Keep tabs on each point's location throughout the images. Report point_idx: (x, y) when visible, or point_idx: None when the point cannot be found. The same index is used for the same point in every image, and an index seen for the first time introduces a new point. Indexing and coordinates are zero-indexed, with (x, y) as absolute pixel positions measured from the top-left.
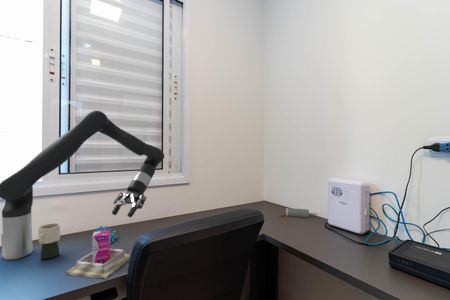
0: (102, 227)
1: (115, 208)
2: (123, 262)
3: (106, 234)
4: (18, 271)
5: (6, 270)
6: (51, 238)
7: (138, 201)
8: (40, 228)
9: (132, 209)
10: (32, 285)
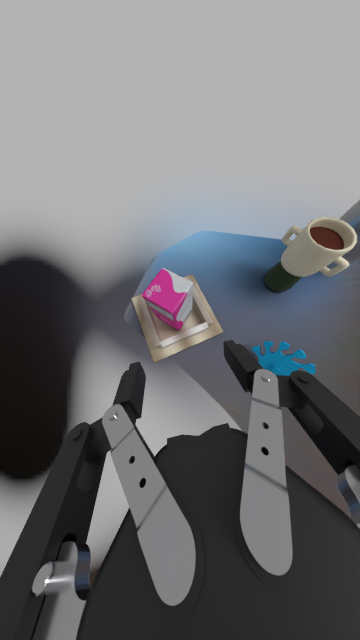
0: (308, 371)
1: (235, 356)
2: (145, 336)
3: (149, 292)
4: (254, 246)
5: (270, 239)
6: (286, 253)
7: (69, 473)
8: (320, 218)
9: (123, 395)
10: (198, 248)
